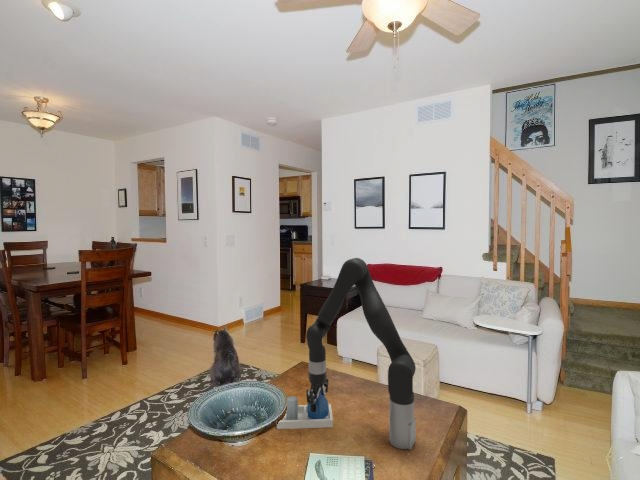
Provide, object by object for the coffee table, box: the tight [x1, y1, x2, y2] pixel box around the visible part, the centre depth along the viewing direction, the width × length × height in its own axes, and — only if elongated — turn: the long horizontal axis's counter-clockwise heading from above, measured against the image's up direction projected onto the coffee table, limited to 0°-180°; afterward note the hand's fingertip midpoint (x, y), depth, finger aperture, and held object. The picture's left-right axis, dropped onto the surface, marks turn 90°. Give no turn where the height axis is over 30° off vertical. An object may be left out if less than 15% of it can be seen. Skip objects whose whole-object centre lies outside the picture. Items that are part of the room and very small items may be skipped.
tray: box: [276, 403, 334, 430], centre depth 146 cm, size 23×12×4 cm, turn 92°
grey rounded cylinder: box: [285, 395, 299, 420], centre depth 146 cm, size 5×5×9 cm
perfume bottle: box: [307, 389, 329, 419], centre depth 146 cm, size 6×6×12 cm
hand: (317, 407), depth 146 cm, fingers closed on perfume bottle, 6 cm apart
